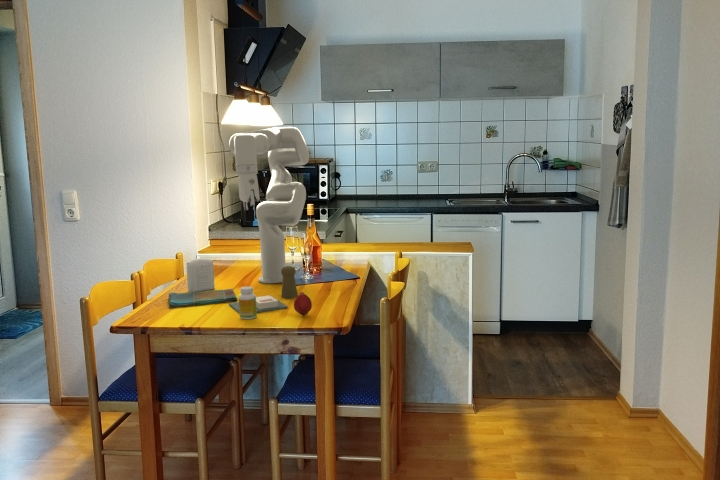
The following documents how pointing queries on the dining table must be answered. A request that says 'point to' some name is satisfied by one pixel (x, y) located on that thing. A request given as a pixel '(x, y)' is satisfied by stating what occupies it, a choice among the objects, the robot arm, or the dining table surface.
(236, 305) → the mat
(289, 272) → the pepper shaker
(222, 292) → the dish towel
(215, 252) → the dining table surface
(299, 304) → the onion
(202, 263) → the photo printer
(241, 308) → the supplement bottle
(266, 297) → the card box
